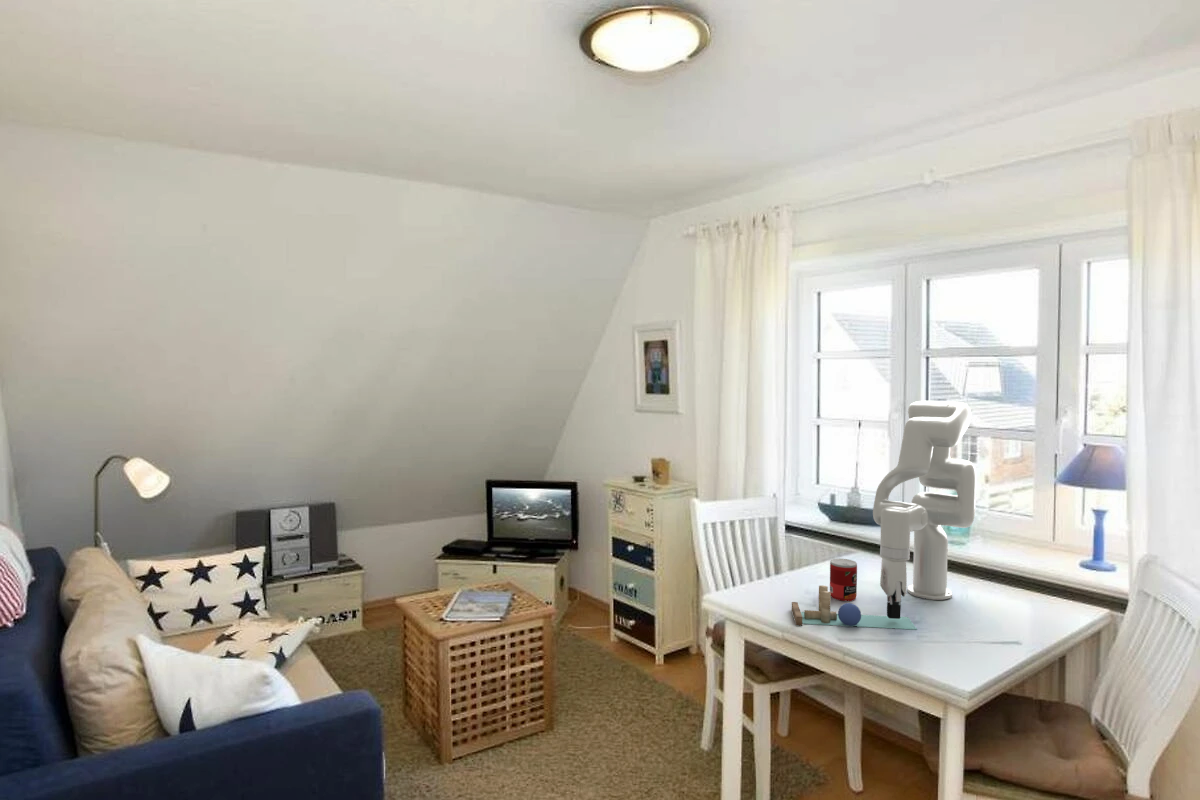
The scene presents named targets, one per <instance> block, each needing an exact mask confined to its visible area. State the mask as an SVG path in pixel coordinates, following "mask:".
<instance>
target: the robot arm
mask: <svg viewBox="0 0 1200 800" xmlns="http://www.w3.org/2000/svg"><path fill="white" fill-rule="evenodd" d="M907 412H908V413H907V415H908V417H909V419H908V420H907V421H906V422H905V425H904V429H903V430H904V431H903V435H902V441H901V446H900V452H899V456H898V457H899V458H898V463H897V466H896V467H894V468H893V469H892V470H891V471H889V472H888V473H887V474H886V475H885V476H884V477H883V479H882V480H881V481H880V483H879V484H878V487H877V489H876V491H875V492H876V493H875V496H874V503H873V506H872V507H873V508H872V516H873V517H872V518H873V520H874V522H875V523H876V524H877V525H879V526H880V538H879V539H880V543H879V545H880V548H879V557H880V558H881V562H880V563H881V565H880V578H879V579H880V581H879V582H880V583H879V585H880V587H881V589H882V591H883V593H884V594H885V595H887V596H886V601H887V602H886V616H888V618H892V619H900V617H901V610H902V609H901V605H902V604H901V603H902V597H903V598H904V597H906V595H907V593H909V594H910V595H912V596H915V597H918V598H922V599H925V598H926V599H925V600H933V601H935V600H936V601H942V600H943V601H945V600H949V599H950V598H952V597H953V592H952V591H951V589H949V588H948V587H947V586H948V585H947V583H948V582H947V581H948V546H949V545H948V544H949V540H948V536H947V533H946V532H945V530H944V529H943V528H942V526H947V527H953V528H959V529H960V528H961V529H966V528H970V527H971V526H972V525H973V523H974V519H975V513H976V512H975V511H976V497H977V496H976V495H977V494H976V492H977V471H976V467H975V465H974V463H973V462H971V461H969V460H968V459H967V460H966V459H961V458H960V459H959V458H951V448H954V447H955V446H957V445H958V443H959V442H960V441H961V439H962V437H963V436H964V434H965V433H966V431H967V429H968V428H969V426H970V423H971V421H972V412H971V408H970V406H969V405H968V404H967V403H965V402H962V401H961V402H960V401H941V400H940V401H939V400H918V401H914V402H912V403H910V405H909V406H908V411H907ZM916 478H918V481H919V483H920V484H921V485H922V486H923V487H926V488H931V489H937V490H938V489H939V490H940V489H941V490H947V491H954V492H956V494H948V493H941V492H933V491H931V492H930V491H921V492H919V493H916V494H915V495H914V496H913V497H912V499H911V502H910V503H909V502H903V501H897V500H890V499H889V498H890V495H891V493H892V492H893V491H894V489H895V488H896V487H897V486H899V485H901V484H902V483H904V482H907V481H911V480H913V479H916ZM911 532H913V563H912V564H913V569H912V576H913V579H912V584H909V585H908V586H907V577H908V576H907V568H908V567H907V561H910V558H911V557H910V556H911V554H910V553H911V552H910V551H911Z"/></svg>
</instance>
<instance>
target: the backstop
mask: <svg viewBox="0 0 1200 800" xmlns="http://www.w3.org/2000/svg"><path fill="white" fill-rule="evenodd" d="M801 612H802V611H801V609H800V606H799V603H798V602H797V601H792V602H791V613H792V617H793V616H794V617H793V619H795V620H794V623H795V625H799V627H801V626H802V627H803V624H802V614H801ZM800 625H801V626H800Z"/></svg>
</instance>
